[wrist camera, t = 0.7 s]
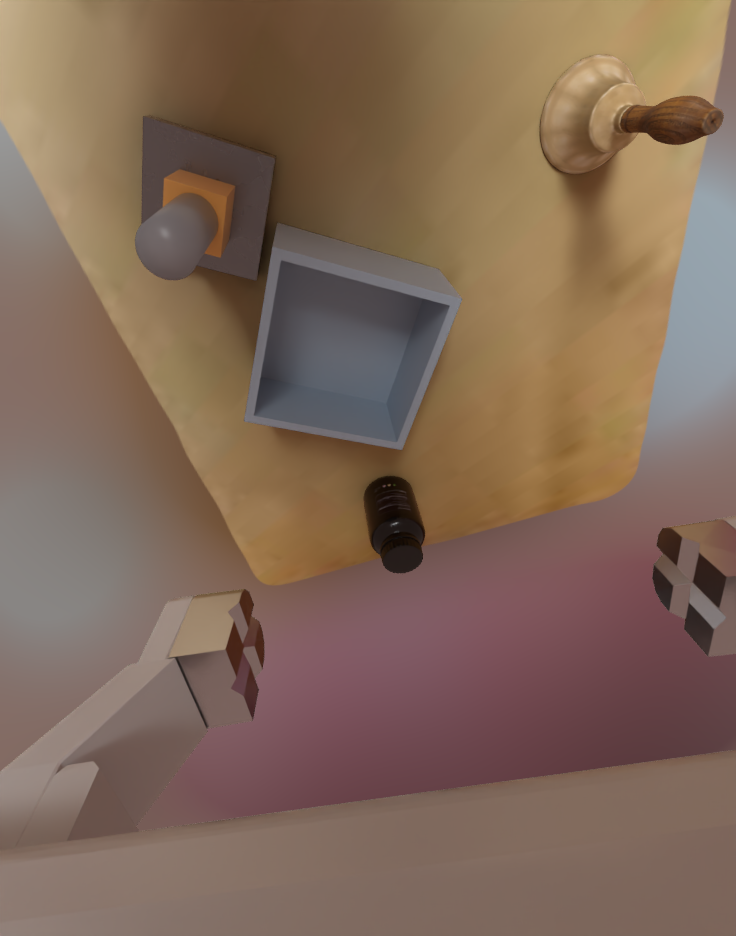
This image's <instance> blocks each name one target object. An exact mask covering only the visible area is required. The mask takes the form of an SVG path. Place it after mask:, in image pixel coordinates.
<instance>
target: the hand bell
mask: <svg viewBox="0 0 736 936" xmlns="http://www.w3.org/2000/svg"><path fill="white" fill-rule="evenodd" d="M723 116H724V115H723V112H722V110H720V109H718V108H715V107H714V106H713V105H711V104H710V103H709V102H708V101H706V100H705V99H703V98H701V97H697V96H680V97H675V98H671V99H668V100H666V101H664V102H661V103H660V104H658V105H656V106H646V101H645V97H644V94H643V92H642V91H641V90H640V88H639V87H637V86H636V84H635V81H634V78H633V75H632V73H631V71H630V70H629V68H628V67H627V66H626V65H625V64H624V63H623V62H622V61H621V60H619V59H618V58H616V57H613V56H610V55H593V56H589V57H586V58H584V59H582V60H580V61H578V62H577V63H575V64H574V65H572V66H571V67H570V68H569V69H567V70H566V71H565V72H564V73H563V75H562V76H561V77H560V78H559V79H558V81H557V82H556V83H555V85H554V86H553V88H552V90H551V92H550V93H549V95H548V97H547V100H546V102H545V105H544V108H543V112H542V116H541V122H540V138H541V144H542V148H543V151H544V153H545V156H546V157H547V159H548V160H549V162H550V163H551V164H552V165H553V166H554V167H556V168H557V169H559V170H560V171H562V172H565V173H570V174H581V173H586V172H589V171H592V170H594V169H596V168H598V167H599V166H601V165H602V164H604V163H605V162H606V161H608V160H609V159H610V158H611V157H612V156H613V155H614V154H615V153H616V152H617V151H619V150H621V149H623V148H624V147H626V146H627V145H628V144H630V143H631V142H632V141H633V139H634V138H635V137H636V136H637V134H638V133H647V134H649V135H650V136H651V137H652V138H653V139H654V140H656V141H658V142H662V143H665V144H672V145H680V144H685V143H689V142H692V141H694V140H697V139H699V138H701V137H703V136H706V135H710V134H713V133H714V132H716V131H717V130H718V128H719V127H720V126H721V124H722V121H723V118H724V117H723Z"/></svg>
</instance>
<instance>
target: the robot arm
mask: <svg viewBox="0 0 736 936" xmlns="http://www.w3.org/2000/svg"><path fill="white" fill-rule="evenodd" d="M657 547H658V548H659V549H660V551H661V552H662V553H663V554H662V555H661V557H660V558H659V559H658V560H657V561H656V562H655V563H654V567H653V577H652V579H653V583H654V587H655V591H656V593H657V595H658V597H659V599H660V601H661V602H662V604H663V605H664V606H665V607H666V608H667V610H668V611H669V612H671V613H673V614H675V615H677V616H679V617H681V618H683V619H685V624H684V629H685V631H686V632H687V633H688V634H689V635H690V637H691V638H692V639H693V640H694V641H695V642H696V643H697V645H698V646H699V647H700V648H701V649H702V650H703V651H704V652H705V654H706V655H707V656H708V657H710V656H719V655H727V654H736V516H731V517H725V518H720V519H715V520H713V521H706V522H699V523H693V524H686V525H680V526H673V527H666V528H662V530H661V531H660V533H659V535H658V540H657ZM253 606H254V603H253V601H252V598H251V596H250V593H249V592H248V591H247V590H246V589H241V590H233V591H226V592H217V593H210V594H201V595H197V596H188V597H180V598H173V599H171V600H170V601H168V602H167V603H166V605H165V607H164V609H163V611H162V613H161V615H160V617H159V619H158V621H157V623H156V625H155V627H154V630H153V632H152V634H151V636H150V638H149V640H148V642H147V644H146V646H145V648H144V650H143V652H142V655H141V657H140V659H139V661H138V663H136V664H130V665H128V666H127V667H126V668H125V669H123V670H122V671H121V672H120V673H119V674H117V675H116V676H115V677H114V678H113V679H111V680H110V681H109V682H108V683H107V684H105V685H104V686H103V687H102V688H100V689H99V690H98V691H97V692H96V693H95V694H93V695H92V696H91V697H90V698H88V699H87V700H86V701H85V702H84V703H82V704H81V705H80V706H79V707H78V708H77V709H75V710H74V711H73V712H72V713H70V714H69V715H68V716H67V717H66V718H65V719H63V720H62V721H61V722H60V723H58V724H57V725H56V726H55V727H53V728H52V729H51V730H50V731H49V732H47V733H46V734H45V735H44V736H43V737H42V738H40V739H39V740H38V741H37V742H35V743H34V744H33V745H32V746H31V747H29V748H28V749H27V750H26V751H25V752H23V753H22V754H21V755H20V756H19V757H17V758H16V759H15V760H14V761H13V762H11V763H10V764H9V765H8V766H6V767H5V768H4V769H3V770H2V771H1V772H0V936H736V750H732V751H724V752H718V753H710V754H703V755H695V756H688V757H681V758H674V759H666V760H659V761H652V762H645V763H637V764H630V765H623V766H615V767H608V768H601V769H593V770H586V771H579V772H571V773H564V774H556V775H549V776H542V777H534V778H527V779H519V780H512V781H505V782H497V783H490V784H483V785H476V786H468V787H461V788H453V789H446V790H438V791H431V792H424V793H416V794H409V795H402V796H394V797H387V798H380V799H373V800H365V801H358V802H350V803H343V804H336V805H329V806H322V807H314V808H306V809H299V810H292V811H285V812H277V813H270V814H262V815H255V816H248V817H240V818H233V819H226V820H218V821H212V822H204V823H197V824H189V825H182V826H174V827H167V828H161V829H153V830H145V831H139V830H138V828H137V827H136V826H137V825H138V824H139V822H140V821H141V820H142V818H143V817H144V815H145V814H146V813H147V812H148V810H149V809H150V808H151V806H152V805H153V804H154V802H155V801H156V800H157V798H158V797H159V796H160V794H161V793H162V792H163V790H164V789H165V788H166V786H167V785H168V783H169V782H170V781H171V780H172V778H173V777H174V776H175V774H176V773H177V772H178V770H179V769H180V768H181V766H182V765H183V763H184V762H185V761H186V760H187V758H188V757H189V756H190V754H191V753H192V752H193V750H194V749H195V748H196V746H197V745H198V744H199V742H200V741H201V740H202V738H203V737H204V735H205V734H206V733H207V732H208V730H207V729H208V728H214V727H219V726H226V725H231V724H237V723H243V722H249V721H253V717H254V712H255V707H256V701H257V696H258V691H259V689H258V686H257V683H256V680H255V678H256V676H257V675H258V674H259V673H260V672H261V671H262V669H263V663H264V638H263V632H262V628H261V625H260V622H259V621H258V620H257V619H255V618H254V617H252V616H251V615H252V611H253Z"/></svg>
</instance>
